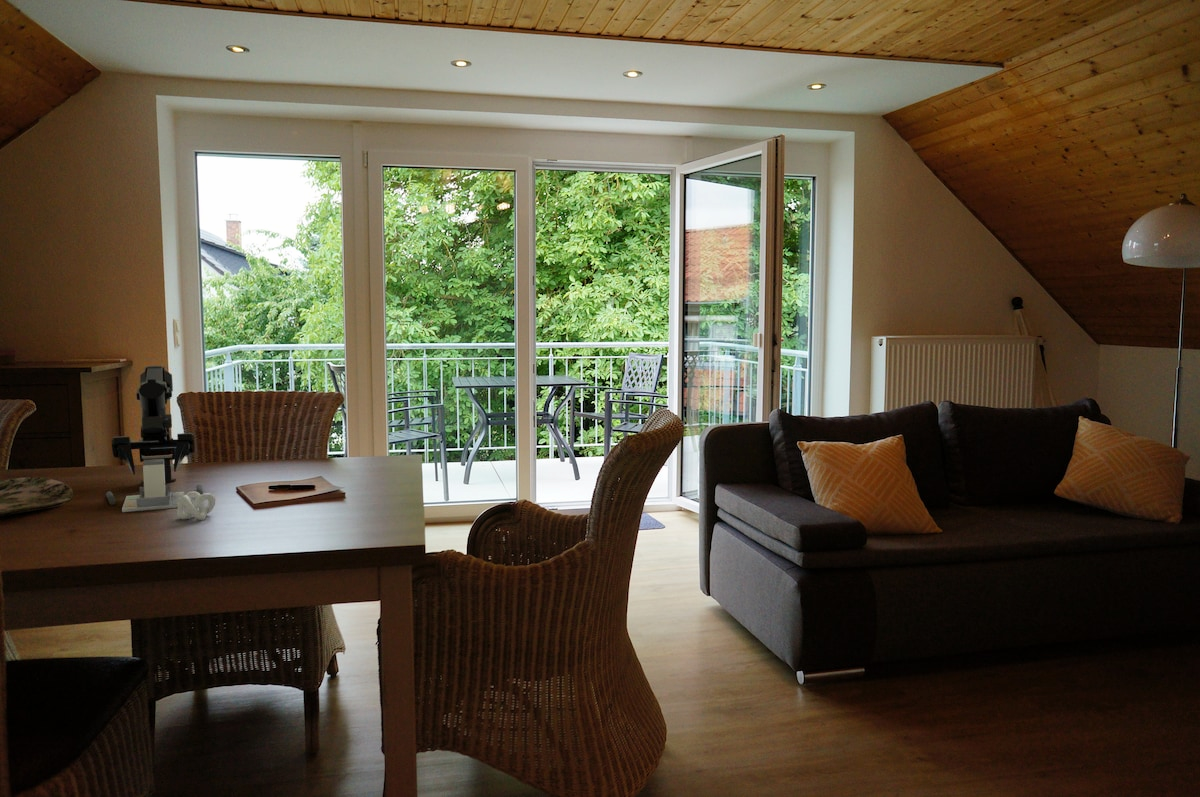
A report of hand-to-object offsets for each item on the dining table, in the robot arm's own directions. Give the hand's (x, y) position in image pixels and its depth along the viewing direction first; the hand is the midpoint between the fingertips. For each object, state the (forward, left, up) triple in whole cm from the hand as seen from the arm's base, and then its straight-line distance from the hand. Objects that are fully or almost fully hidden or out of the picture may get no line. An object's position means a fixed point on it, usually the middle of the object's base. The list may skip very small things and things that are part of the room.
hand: (154, 472), depth 212 cm
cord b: (-7, -7, -7) cm, 12 cm away
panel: (+5, -4, -7) cm, 9 cm away
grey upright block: (+2, -2, -6) cm, 7 cm away
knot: (+28, -10, -7) cm, 31 cm away
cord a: (+6, +8, -7) cm, 12 cm away
